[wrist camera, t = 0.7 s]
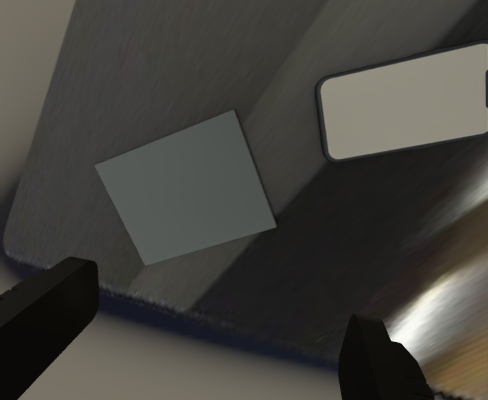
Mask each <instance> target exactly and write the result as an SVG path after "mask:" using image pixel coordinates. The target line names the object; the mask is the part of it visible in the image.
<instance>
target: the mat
mask: <svg viewBox="0 0 488 400" xmlns="http://www.w3.org/2000/svg"><path fill="white" fill-rule="evenodd" d="M95 167H96V169H97V171H98V173H99V175H100V177H101V179H102V181H103V183H104V185H105V187H106V189H107V191H108V193H109V195H110V197H111V199H112V201H113V203H114V205H115V207H116V209H117V211H118V213H119V215H120V217H121V219H122V221H123V223H124V225H125V227H126V229H127V231H128V233H129V235H130V237H131V239H132V240H133V242H134V244H135V246H136V248H137V250H138V252H139V254H140V256H141V258H142V260H143V262H144V264H145V266H146V265H149V264H153V263H156V262H160V261H163V260H166V259H170V258H173V257H177V256H180V255H183V254H187V253H190V252H194V251H197V250H200V249H204V248H207V247H211V246H214V245H217V244H221V243H224V242H228V241H231V240H234V239H238V238H241V237H245V236H248V235H251V234H255V233H258V232H262V231H265V230H268V229H272V228H275V227H277V223H276V220H275V218H274V215H273V212H272V209H271V207H270V204H269V201H268V198H267V196H266V193H265V190H264V187H263V185H262V182H261V179H260V176H259V174H258V171H257V168H256V165H255V163H254V160H253V157H252V154H251V152H250V149H249V146H248V143H247V141H246V138H245V135H244V132H243V130H242V127H241V124H240V121H239V119H238V116H237V113H236V110H235V109H234V110H231V111H229V112H226V113H224V114H221V115H219V116H216V117H214V118H211V119H209V120H206V121H204V122H201V123H199V124H196V125H194V126H191V127H189V128H186V129H184V130H181V131H179V132H176V133H174V134H171V135H169V136H166V137H164V138H161V139H159V140H157V141H154V142H152V143H149V144H147V145H144V146H142V147H139V148H137V149H134V150H132V151H129V152H127V153H124V154H122V155H119V156H117V157H114V158H112V159H109V160H107V161H104V162H102V163H99V164H97V165H95Z"/></svg>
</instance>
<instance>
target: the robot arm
mask: <svg viewBox="0 0 488 400" xmlns="http://www.w3.org/2000/svg"><path fill="white" fill-rule="evenodd" d="M99 302H100V298H99V282H98V267H97V264H96V262H94V261H91V260H86V259H81V258H76V257H68V258H66V259H64V260H63V261H61V262H60V263H58V264H57V265H55V266H54V267H52V268H51V269H47V270H45V271H42V272H40V273H37V274H35V275H32V276H30V277H28V278H26V279H25V280H23V281H22V282H20V283H18V284H17V285H15V286H14V287H12V289H11V290H8V291H6V292H4V293H3V294H1V295H0V400H17V399H18V398H19V397H20V396H21V395H22V394H23V393H24V392H25V391H26V390H27V389H28V388H29V387H30V386H31V385H32V384H33V382H34V381H35V380H36V379H37V378H38V377H39V376H40V375H41V374H42V373H43V372H44V371H45V370H46V369H47V367H49V365H50V364H51V363H52V362H53V361H54V360H55V359H56V358H57V357H58V356H59V355H60V354H61V353H62V352H63V351H64V350H65V349H66V348H67V346H68V345H69V344H70V343H71V342H72V341H73V340H74V339H75V338H76V337H77V336H78V335H79V334H80V333H81V332H82V331H83V330H84V329H85V327H86V326H87V325H88V324H89V323H90V322H91V321H92V320H93V318H94V317H95V315H96V313H97V311H98V308H99ZM338 377H339V384H340V389H341V396H342V400H434V398H435V397H434V395H433V393H432V391H431V389H430V387H429V385H428V384H426V379H425V377H424V375H423V373H422V371H421V369H420V366H419V364H418V362H417V361H416V359H415V358H414V357H413V356H412V355H411V354H410V353H409V352H408V350H407V349H406V348H405V347H404V346H403V345H402V344H401V343H398V342H393V341H391V340H390V337H389V335H388V332H387V330H386V328H385V325H384V323H383V321H382V320H381V319H376V318H371V317H366V316H361V315H356V314H353V315H352V316H351V318H350V320H349V324H348V327H347V331H346V334H345V337H344V341H343V344H342V348H341V351H340V355H339V361H338Z"/></svg>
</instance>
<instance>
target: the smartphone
mask: <svg viewBox="0 0 488 400" xmlns="http://www.w3.org/2000/svg"><path fill="white" fill-rule="evenodd" d="M315 99H316V106H317V113H318V120H319V128H320V135H321V142H322V149H323V154H324V156H325V158H326V159H327V160H329V161H330V162H333V163H339V162H344V161H350V160H356V159H361V158H367V157H372V156H378V155H384V154H389V153H395V152H401V151H406V150H412V149H414V150H416V149H422V148H428V147H433V146H437V145H440V144H446V143H451V142H457V141H463V140H468V139H474V138H479V137H484V136H487V135H488V40H486V39H484V40H478V41H474V42H470V43H466V44H461V45H457V46H453V47H444V48H440V49H435V50H432V51H430V52H428V51H427V52H423V53H418V54H414V55H412V56H410V57H406V58H401V59H397V60H393V61H389V62H384V63H380V64H376V65H372V66H367V67H363V68H359V69H354V70H350V71H346V72H342V73H337V74H333V75H329V76H325V77H323V78H322V79H321V80H320V81H319V82H318V83H317V85H316V87H315Z"/></svg>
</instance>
